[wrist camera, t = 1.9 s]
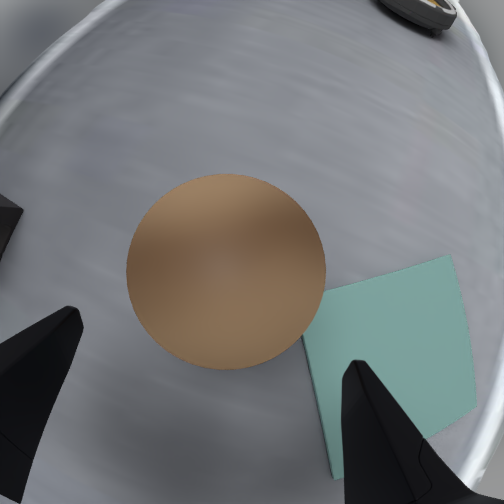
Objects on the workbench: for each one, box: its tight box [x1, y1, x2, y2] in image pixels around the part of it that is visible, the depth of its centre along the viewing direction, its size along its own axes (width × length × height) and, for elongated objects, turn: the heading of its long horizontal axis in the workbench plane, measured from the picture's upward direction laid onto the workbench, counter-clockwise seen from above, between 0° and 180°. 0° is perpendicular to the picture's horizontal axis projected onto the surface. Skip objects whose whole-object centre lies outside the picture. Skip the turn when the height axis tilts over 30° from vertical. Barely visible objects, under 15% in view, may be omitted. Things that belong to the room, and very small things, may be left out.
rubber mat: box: [302, 254, 477, 480], centre depth 18 cm, size 14×14×1 cm
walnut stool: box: [126, 174, 326, 370], centre depth 15 cm, size 7×7×10 cm
